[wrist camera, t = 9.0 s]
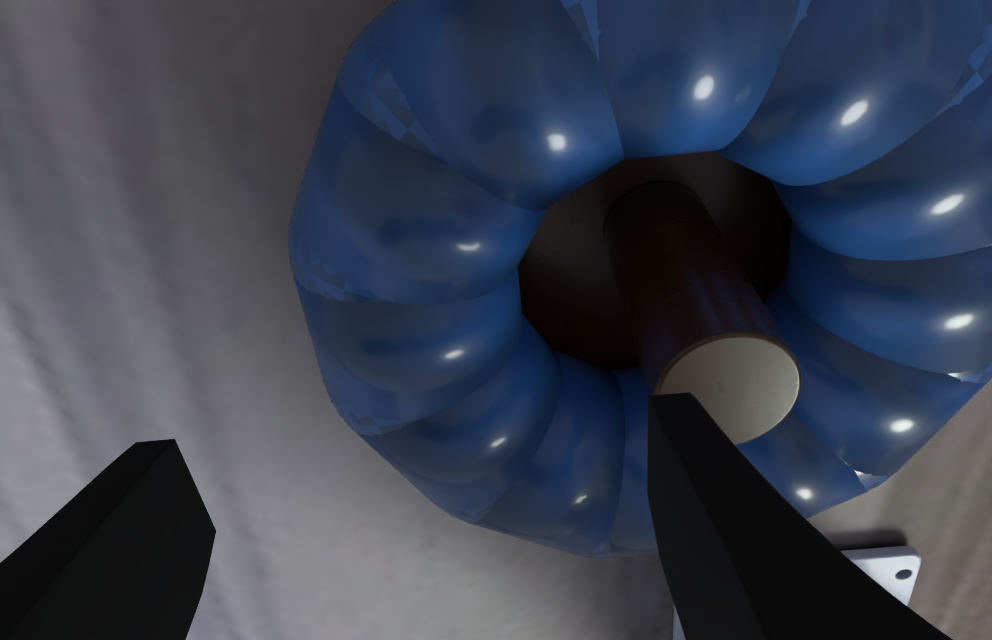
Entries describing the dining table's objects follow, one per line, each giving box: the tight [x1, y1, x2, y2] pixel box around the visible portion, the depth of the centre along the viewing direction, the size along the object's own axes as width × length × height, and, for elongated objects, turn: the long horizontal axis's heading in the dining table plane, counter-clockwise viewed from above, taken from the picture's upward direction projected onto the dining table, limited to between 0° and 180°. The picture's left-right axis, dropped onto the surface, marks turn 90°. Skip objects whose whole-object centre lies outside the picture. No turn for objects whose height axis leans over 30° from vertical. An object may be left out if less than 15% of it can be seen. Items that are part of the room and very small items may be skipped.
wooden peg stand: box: [518, 151, 801, 445], centre depth 15 cm, size 10×10×7 cm
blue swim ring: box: [288, 0, 992, 558], centre depth 15 cm, size 14×14×4 cm
